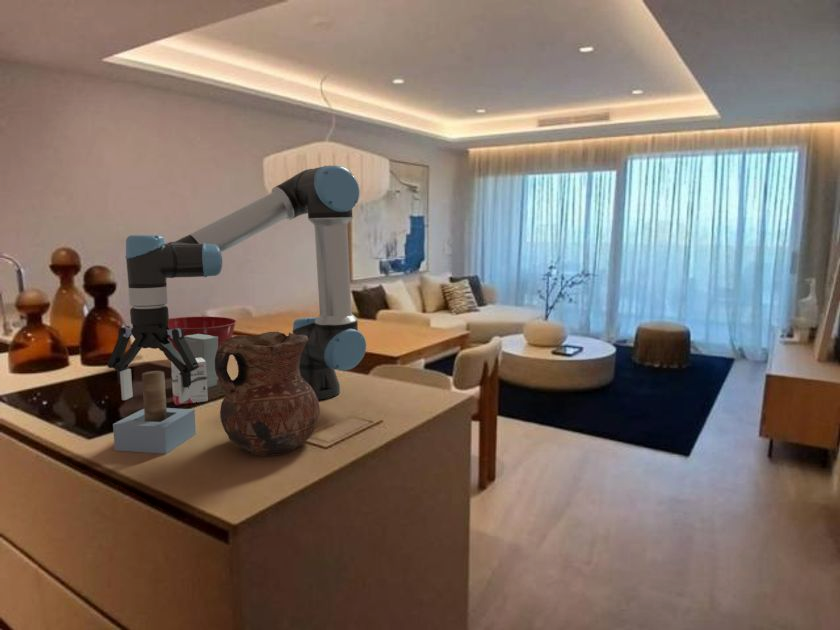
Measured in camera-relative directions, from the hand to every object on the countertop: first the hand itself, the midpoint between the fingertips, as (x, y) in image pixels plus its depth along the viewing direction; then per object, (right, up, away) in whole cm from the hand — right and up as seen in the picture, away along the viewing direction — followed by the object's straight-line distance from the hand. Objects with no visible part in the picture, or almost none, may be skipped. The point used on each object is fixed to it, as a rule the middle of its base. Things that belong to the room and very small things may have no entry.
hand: (155, 399), depth 123 cm
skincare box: (-8, -3, +47) cm, 48 cm away
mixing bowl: (-22, +1, +76) cm, 79 cm away
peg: (0, -10, +1) cm, 10 cm away
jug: (+26, -10, +1) cm, 28 cm away
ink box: (-5, -5, +32) cm, 32 cm away
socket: (0, -10, +1) cm, 10 cm away
